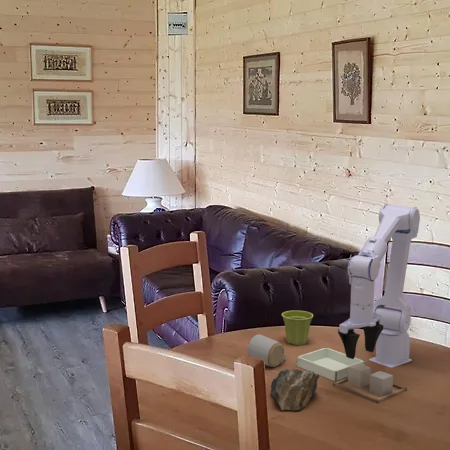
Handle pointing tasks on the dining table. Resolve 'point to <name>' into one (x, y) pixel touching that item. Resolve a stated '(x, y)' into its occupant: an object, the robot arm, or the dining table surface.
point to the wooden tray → (365, 391)
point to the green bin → (327, 363)
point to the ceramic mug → (266, 350)
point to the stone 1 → (359, 375)
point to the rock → (294, 388)
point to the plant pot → (297, 326)
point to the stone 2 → (381, 383)
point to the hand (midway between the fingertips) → (360, 354)
